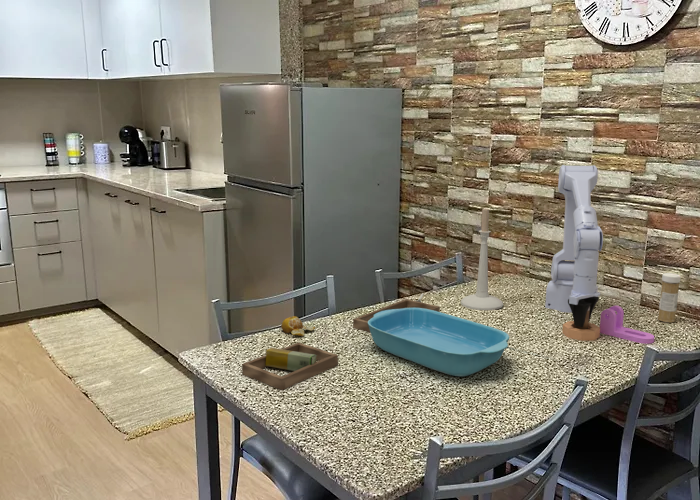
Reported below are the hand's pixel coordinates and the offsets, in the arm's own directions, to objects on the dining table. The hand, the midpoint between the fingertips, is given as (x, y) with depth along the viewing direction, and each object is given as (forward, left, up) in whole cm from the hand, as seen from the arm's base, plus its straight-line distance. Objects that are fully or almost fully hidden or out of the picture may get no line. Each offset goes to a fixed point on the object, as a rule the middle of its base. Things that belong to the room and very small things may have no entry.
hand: (581, 324), depth 168 cm
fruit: (-56, -46, -4) cm, 73 cm away
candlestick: (-34, +8, -3) cm, 35 cm away
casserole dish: (-22, -36, -3) cm, 42 cm away
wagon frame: (-44, -22, -3) cm, 49 cm away
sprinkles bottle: (+14, +27, -3) cm, 31 cm away
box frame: (-42, -66, -3) cm, 78 cm away
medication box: (-42, -66, -3) cm, 78 cm away
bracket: (+10, +7, -3) cm, 13 cm away
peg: (0, 0, -2) cm, 2 cm away
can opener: (-50, -2, -8) cm, 50 cm away
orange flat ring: (0, 0, -3) cm, 3 cm away
